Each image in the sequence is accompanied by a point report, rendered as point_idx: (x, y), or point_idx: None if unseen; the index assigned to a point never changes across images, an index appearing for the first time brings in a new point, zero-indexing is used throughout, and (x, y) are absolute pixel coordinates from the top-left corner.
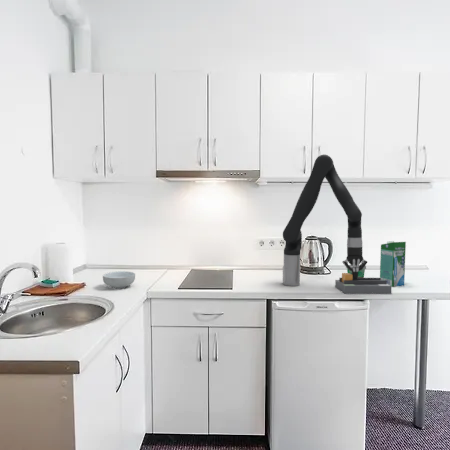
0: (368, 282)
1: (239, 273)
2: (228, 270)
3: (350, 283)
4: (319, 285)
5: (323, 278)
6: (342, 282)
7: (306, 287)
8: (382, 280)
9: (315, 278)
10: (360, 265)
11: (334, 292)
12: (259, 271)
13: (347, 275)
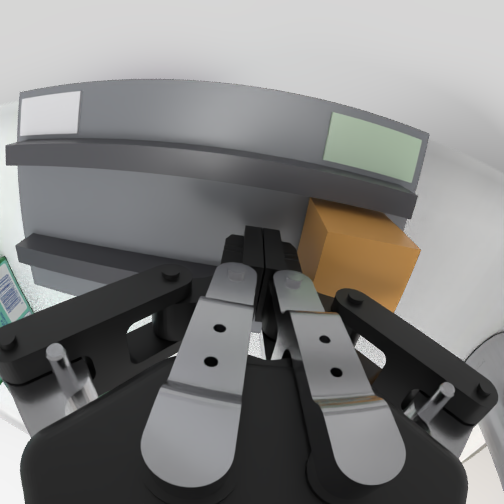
0: (150, 143)
1: (478, 443)
2: (471, 457)
3: (349, 172)
4: None
5: None
6: None
7: (483, 311)
8: (23, 159)
9: None
10: (134, 361)
11: (439, 181)
12: None
13: (389, 240)
